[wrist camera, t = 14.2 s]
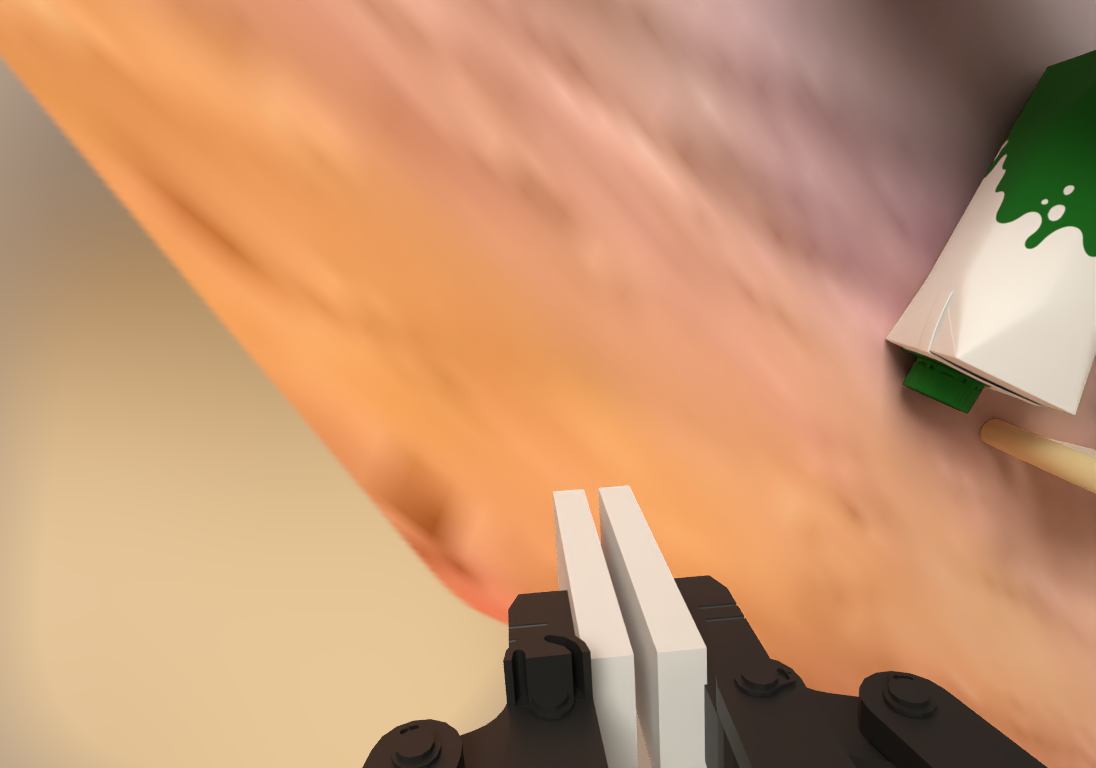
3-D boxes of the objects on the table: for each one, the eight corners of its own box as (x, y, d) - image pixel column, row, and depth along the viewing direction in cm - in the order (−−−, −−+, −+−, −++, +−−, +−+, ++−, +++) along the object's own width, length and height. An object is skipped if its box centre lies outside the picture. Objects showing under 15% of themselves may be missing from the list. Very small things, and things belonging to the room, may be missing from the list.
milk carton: (1023, 63, 41) (855, 362, 45) (1155, 13, 32) (931, 392, 36) (1146, 127, 42) (971, 417, 45) (1308, 97, 33) (1074, 460, 36)
